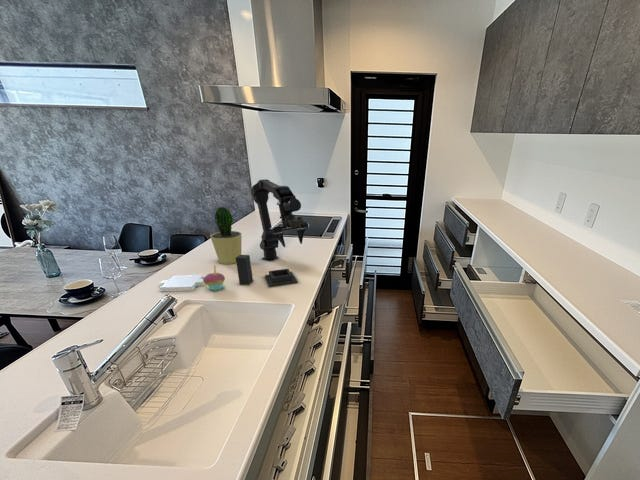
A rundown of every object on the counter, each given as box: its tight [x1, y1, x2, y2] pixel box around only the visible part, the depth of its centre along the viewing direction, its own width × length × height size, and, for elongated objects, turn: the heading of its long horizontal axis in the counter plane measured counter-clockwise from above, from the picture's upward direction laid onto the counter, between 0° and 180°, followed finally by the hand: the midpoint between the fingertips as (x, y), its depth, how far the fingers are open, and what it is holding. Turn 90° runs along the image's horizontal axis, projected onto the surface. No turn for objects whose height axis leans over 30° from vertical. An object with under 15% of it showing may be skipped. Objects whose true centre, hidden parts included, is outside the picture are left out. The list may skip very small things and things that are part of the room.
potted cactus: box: [209, 206, 243, 265], centre depth 162 cm, size 15×15×30 cm
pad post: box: [235, 254, 254, 286], centre depth 139 cm, size 4×4×13 cm
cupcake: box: [203, 264, 226, 291], centre depth 133 cm, size 9×8×12 cm
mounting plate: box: [159, 274, 206, 293], centre depth 137 cm, size 18×13×2 cm
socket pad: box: [264, 268, 298, 288], centre depth 145 cm, size 13×13×4 cm
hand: (293, 245), depth 149 cm, fingers open, 9 cm apart
